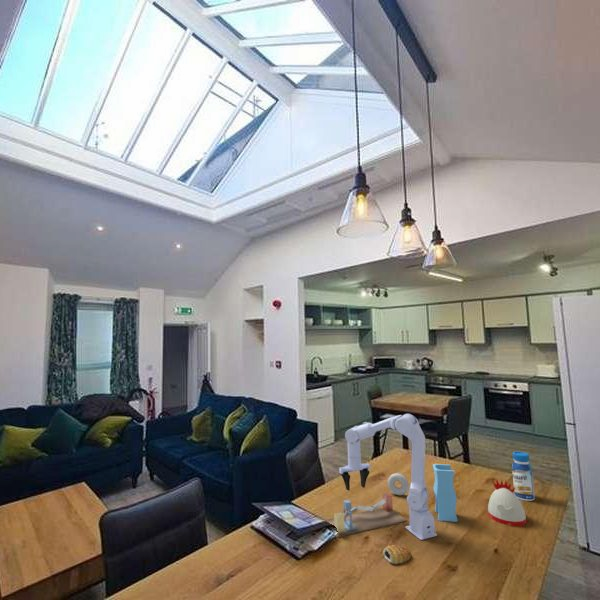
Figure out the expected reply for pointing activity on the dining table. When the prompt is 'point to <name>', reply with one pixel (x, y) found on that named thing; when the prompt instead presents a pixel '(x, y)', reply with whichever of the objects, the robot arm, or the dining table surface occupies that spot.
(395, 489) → the donut
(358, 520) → the tan flat sheet
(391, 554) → the pastry
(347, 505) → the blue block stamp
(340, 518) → the jointed linkage mechanism
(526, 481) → the beverage bottle
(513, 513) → the kitchen timer
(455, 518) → the vase
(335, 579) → the dining table surface
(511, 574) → the dining table surface
